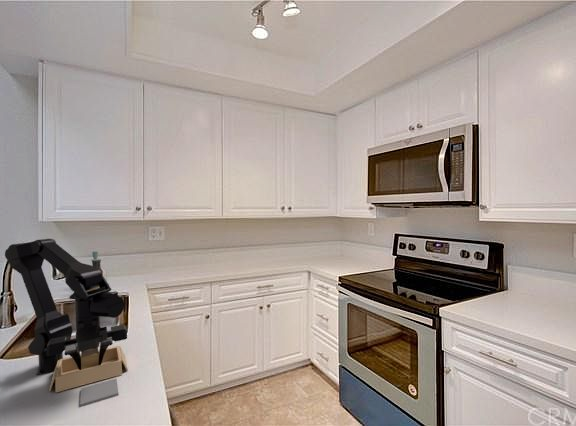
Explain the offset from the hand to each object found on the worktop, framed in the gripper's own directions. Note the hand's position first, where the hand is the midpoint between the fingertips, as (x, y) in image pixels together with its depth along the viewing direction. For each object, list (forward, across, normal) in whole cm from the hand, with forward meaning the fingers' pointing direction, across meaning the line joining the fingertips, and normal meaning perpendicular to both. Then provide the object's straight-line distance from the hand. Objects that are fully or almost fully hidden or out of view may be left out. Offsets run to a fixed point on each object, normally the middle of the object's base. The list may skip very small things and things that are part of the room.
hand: (90, 369), depth 88 cm
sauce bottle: (+2, +2, +96) cm, 97 cm away
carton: (+2, 0, +1) cm, 2 cm away
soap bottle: (+2, +2, +110) cm, 111 cm away
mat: (+2, +2, -12) cm, 12 cm away
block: (+1, 0, +1) cm, 1 cm away
